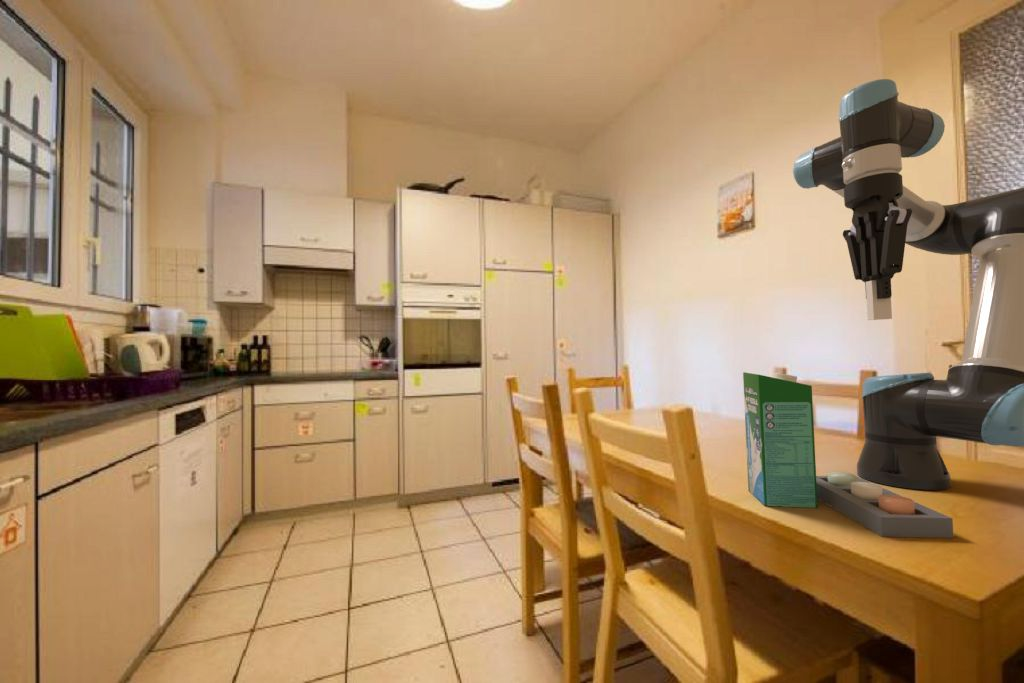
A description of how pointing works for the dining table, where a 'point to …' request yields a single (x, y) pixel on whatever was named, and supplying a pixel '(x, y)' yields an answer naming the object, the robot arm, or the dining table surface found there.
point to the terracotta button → (896, 504)
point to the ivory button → (866, 490)
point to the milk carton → (780, 440)
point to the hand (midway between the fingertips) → (879, 319)
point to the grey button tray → (884, 513)
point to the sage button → (841, 478)
